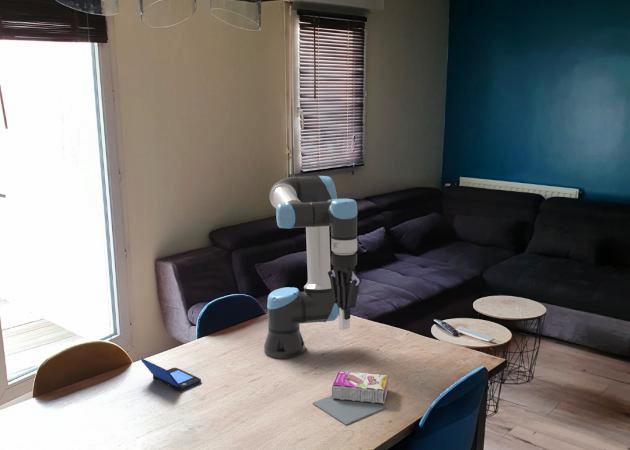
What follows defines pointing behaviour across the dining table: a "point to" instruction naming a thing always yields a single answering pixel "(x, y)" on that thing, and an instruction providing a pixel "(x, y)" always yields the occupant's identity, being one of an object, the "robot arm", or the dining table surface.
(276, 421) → the dining table surface
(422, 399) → the dining table surface
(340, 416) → the mat
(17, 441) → the dining table surface
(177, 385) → the handheld game console
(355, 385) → the candy bar box
